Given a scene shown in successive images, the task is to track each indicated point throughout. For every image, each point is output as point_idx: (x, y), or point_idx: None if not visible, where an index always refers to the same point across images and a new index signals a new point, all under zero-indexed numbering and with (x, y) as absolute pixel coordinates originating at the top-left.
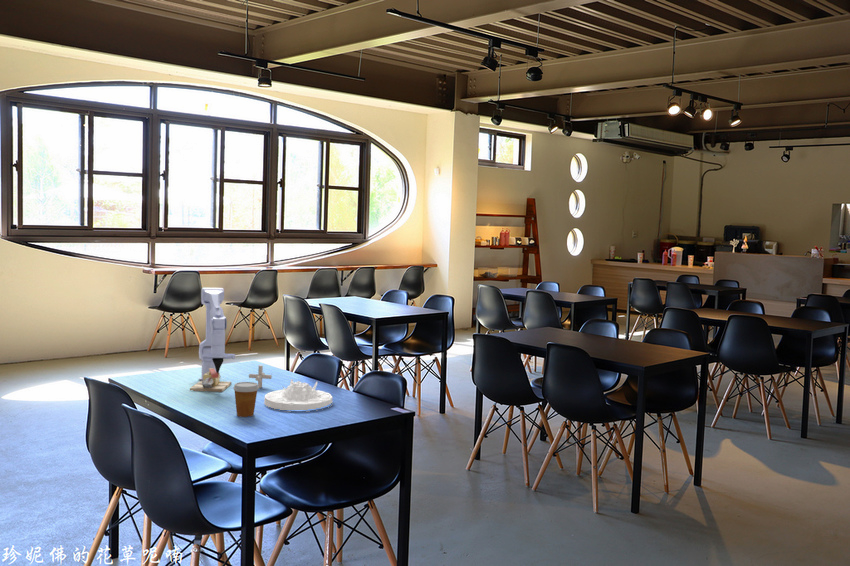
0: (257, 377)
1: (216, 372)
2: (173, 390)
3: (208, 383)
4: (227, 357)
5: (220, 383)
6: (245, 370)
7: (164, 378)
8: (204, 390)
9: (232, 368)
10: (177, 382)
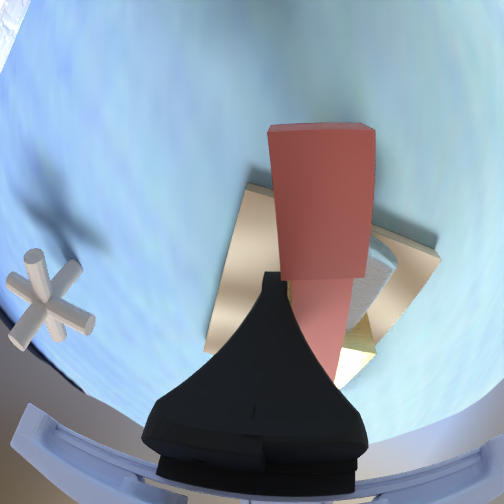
0: (28, 260)
1: (291, 277)
2: (487, 266)
3: None
4: (103, 462)
5: None
6: None
7: (420, 405)
8: None
9: None
10: (413, 377)
